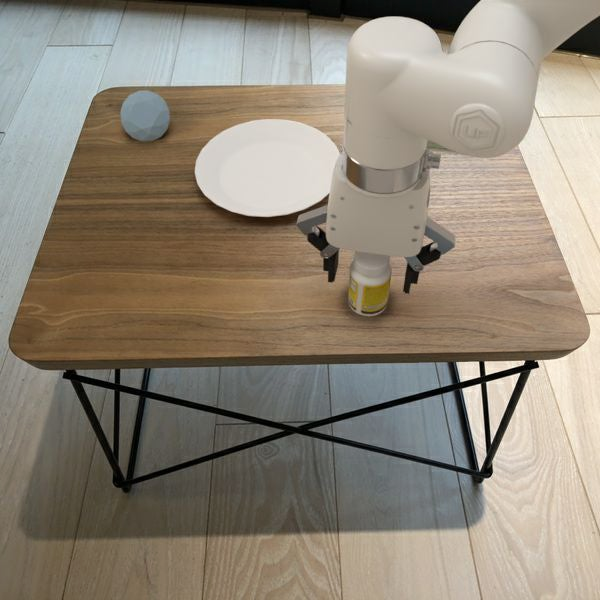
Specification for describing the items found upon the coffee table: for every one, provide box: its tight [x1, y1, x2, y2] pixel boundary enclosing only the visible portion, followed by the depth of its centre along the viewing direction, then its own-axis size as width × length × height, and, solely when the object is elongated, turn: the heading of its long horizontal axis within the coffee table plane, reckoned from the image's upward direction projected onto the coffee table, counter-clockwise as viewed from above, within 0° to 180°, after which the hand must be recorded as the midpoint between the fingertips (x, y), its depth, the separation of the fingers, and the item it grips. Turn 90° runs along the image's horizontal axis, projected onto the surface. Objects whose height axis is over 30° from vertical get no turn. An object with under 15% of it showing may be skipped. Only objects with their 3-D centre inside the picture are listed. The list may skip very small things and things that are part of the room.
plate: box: [194, 118, 341, 218], centre depth 88 cm, size 21×21×2 cm
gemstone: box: [119, 90, 171, 142], centre depth 95 cm, size 8×8×5 cm
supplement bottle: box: [347, 251, 393, 317], centre depth 71 cm, size 5×5×8 cm
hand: (369, 278), depth 71 cm, fingers open, 8 cm apart
